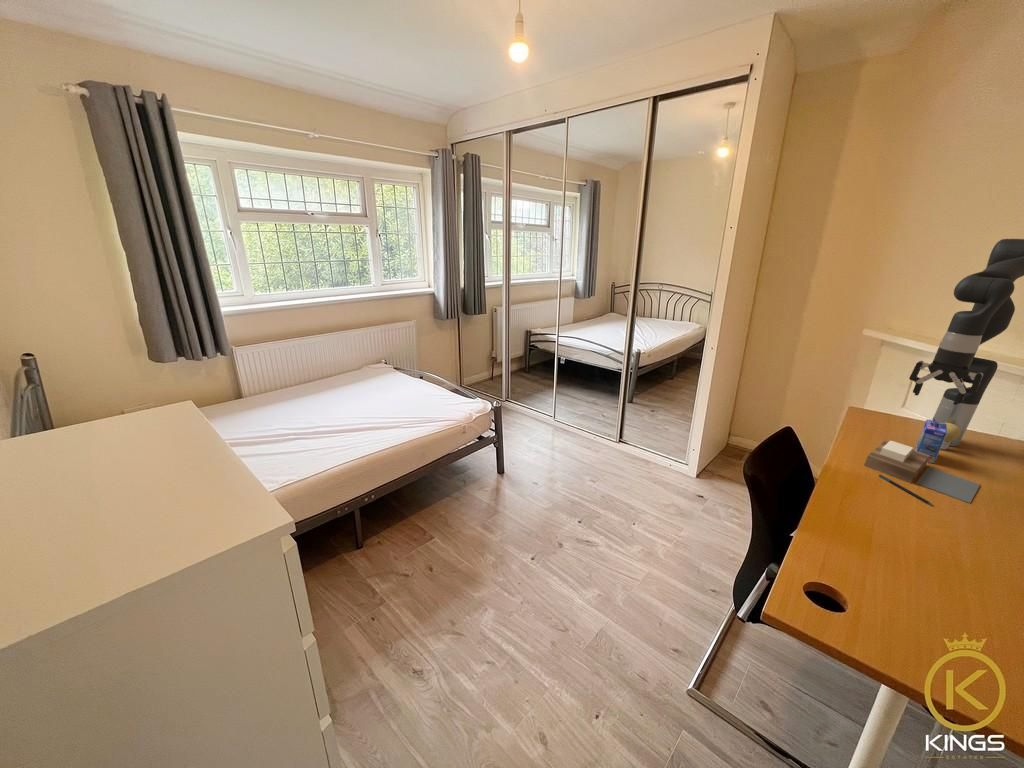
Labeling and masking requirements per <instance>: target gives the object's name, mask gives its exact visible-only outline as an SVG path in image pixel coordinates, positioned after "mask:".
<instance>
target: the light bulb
mask: <svg viewBox="0 0 1024 768" xmlns="http://www.w3.org/2000/svg"><path fill="white" fill-rule="evenodd" d="M945 424H946V426H947V434H946V436H945V439H944V441H943V444H942V446H941V449H940V450H948V449H949V447H950V446H949V444H950V441H952V440H954V439H956V438H958V437H959V436H960V434H961V430H960V428H959V427H958V426H956V425H954V424H952V423H945Z"/></svg>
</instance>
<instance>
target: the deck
mask: <svg viewBox="0 0 1024 768" xmlns="http://www.w3.org/2000/svg"><path fill="white" fill-rule="evenodd" d="M888 442H889V441H888V440H887V441H886V440H883V441H882V443H880V444H879V445H878V446H877V447H876V448H874V449H873V450H872V451H871V452H870V453H869V454H868V455H867V457H866V460H865V462H864V464H863V465H864V467H867V468H869V469H872V470H875V471H878V472H880V473H882V474H886V475H888V476H891V477H893V478H897V479H898V480H902V481H905V482H906V483H913V481H914V480H915V478H916V477H917V476H918V475H919V473H921V471H922V470H923V469H924V468H925V467H926V466H927V465H926V464H927V463H928V462H927V461H928V458H929V456H930V455H927V454H924V453H921V452H918V451H915V449H913V450H912V452H911V454H910V455H909V456H908V457H907V458H906V459H905V460H904V462H901V461H898V460H895V459H892V458H889V457H887V456H884V455H881V454H880V452H881V450H882V448H883V447H884V446H885V445H886V444H887V443H888Z"/></svg>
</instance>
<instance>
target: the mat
mask: <svg viewBox="0 0 1024 768" xmlns="http://www.w3.org/2000/svg"><path fill="white" fill-rule="evenodd" d="M915 484H916V485H918V486H922V487H924V488H927V489H930V490H932V491H935V492H938V493H940V494H943V495H946V496H949V497H951V498H953V499H957V500H959V501H962V502H965V503H966V504H971V502H972V500H973V498H974V497H975V495H976V493H977V491H978V490H979V488H980V485H981V483H977V482H975V481H971V480H968V479H965V478H962V477H959V476H957V475H953V474H951V473H948V472H944V471H942V470H940V469H936V468H934V467H930V466H928V468H926V470H924V472H923V473H922V475H921V476H920V477H919V478H918V479H917V480H916V482H915Z"/></svg>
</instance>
